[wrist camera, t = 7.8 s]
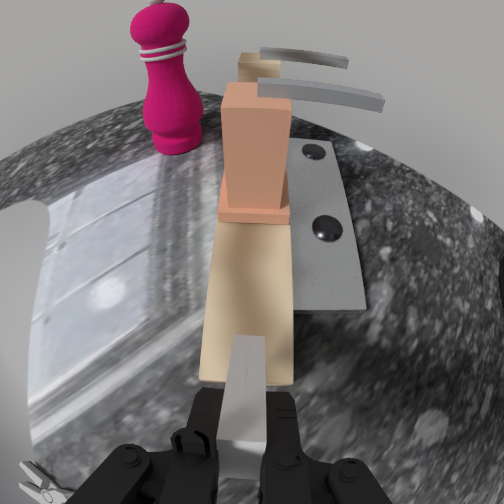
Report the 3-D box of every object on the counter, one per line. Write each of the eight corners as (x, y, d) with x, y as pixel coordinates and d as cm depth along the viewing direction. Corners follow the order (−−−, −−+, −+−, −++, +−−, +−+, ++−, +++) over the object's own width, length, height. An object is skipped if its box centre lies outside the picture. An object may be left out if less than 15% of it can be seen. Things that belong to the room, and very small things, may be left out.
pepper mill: (153, 164, 29) (116, 1, 12) (149, 134, 33) (121, 0, 16) (212, 148, 31) (199, -16, 14) (200, 121, 34) (187, -14, 17)
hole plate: (329, 147, 31) (331, 140, 30) (361, 313, 20) (367, 308, 19) (281, 143, 31) (282, 136, 30) (289, 313, 20) (291, 308, 19)
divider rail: (322, 149, 31) (342, 53, 20) (354, 381, 17) (481, 334, 6) (232, 144, 31) (228, 43, 20) (203, 381, 17) (128, 340, 6)
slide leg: (339, 186, 24) (371, 82, 15) (349, 228, 22) (396, 116, 12) (224, 179, 24) (217, 67, 15) (218, 221, 22) (203, 96, 12)
